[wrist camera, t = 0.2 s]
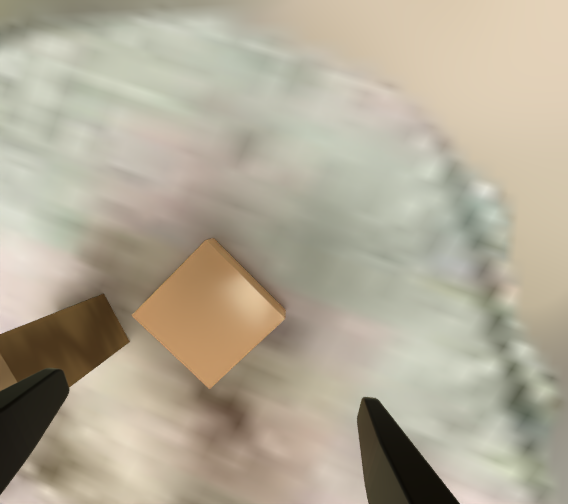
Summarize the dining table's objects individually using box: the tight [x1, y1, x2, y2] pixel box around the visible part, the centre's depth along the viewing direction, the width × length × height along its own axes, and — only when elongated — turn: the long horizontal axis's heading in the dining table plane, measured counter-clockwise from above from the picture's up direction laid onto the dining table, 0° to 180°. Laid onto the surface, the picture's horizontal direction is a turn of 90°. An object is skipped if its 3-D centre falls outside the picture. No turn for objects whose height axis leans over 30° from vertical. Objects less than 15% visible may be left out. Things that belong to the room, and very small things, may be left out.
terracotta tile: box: [132, 238, 286, 389], centre depth 23 cm, size 9×9×2 cm
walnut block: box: [0, 294, 130, 391], centre depth 20 cm, size 5×5×9 cm
